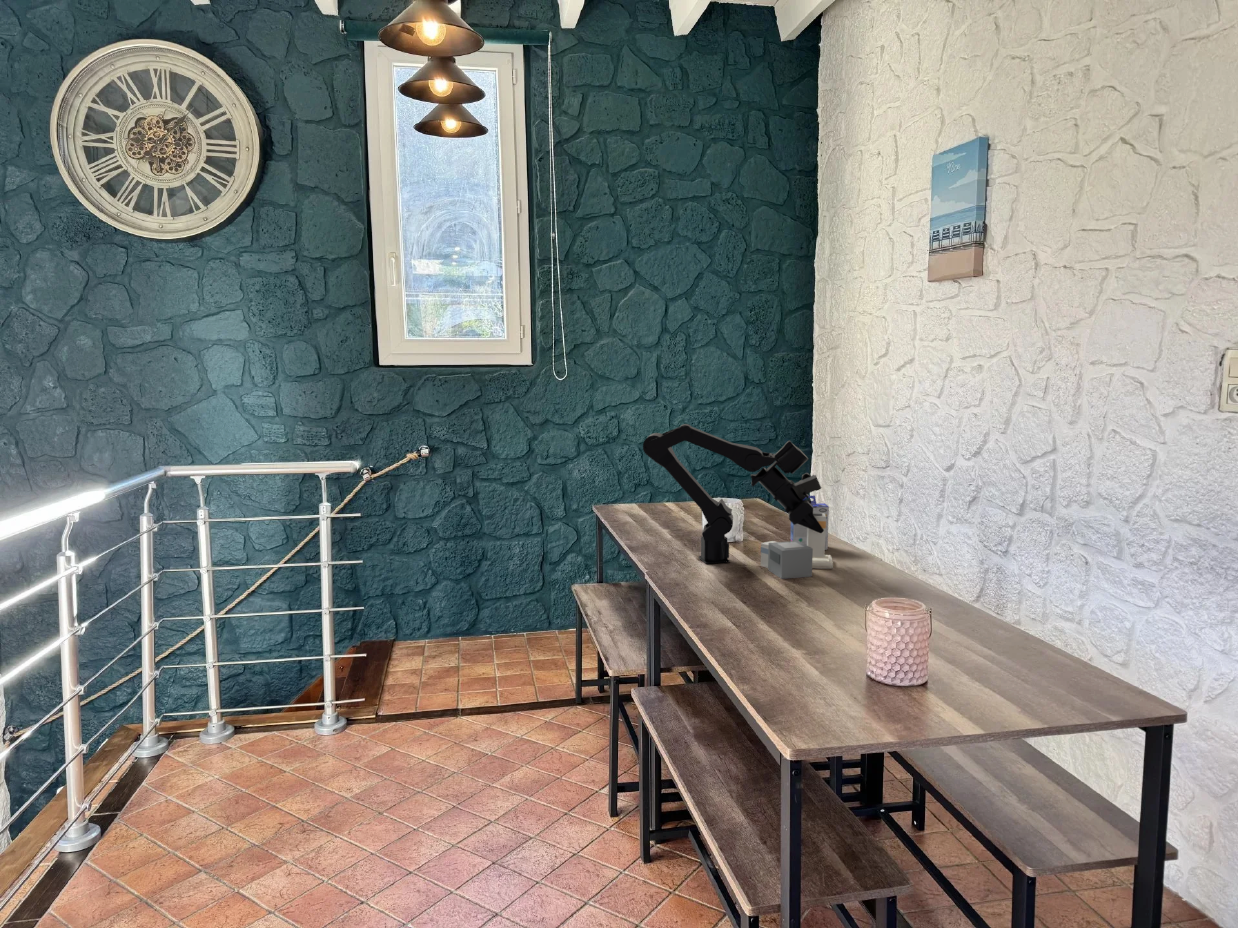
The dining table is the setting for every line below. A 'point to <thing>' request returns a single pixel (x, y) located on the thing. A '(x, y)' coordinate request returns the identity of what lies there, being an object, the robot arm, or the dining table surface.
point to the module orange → (817, 536)
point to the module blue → (765, 553)
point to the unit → (790, 559)
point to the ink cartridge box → (801, 532)
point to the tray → (822, 562)
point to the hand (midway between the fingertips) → (821, 529)
